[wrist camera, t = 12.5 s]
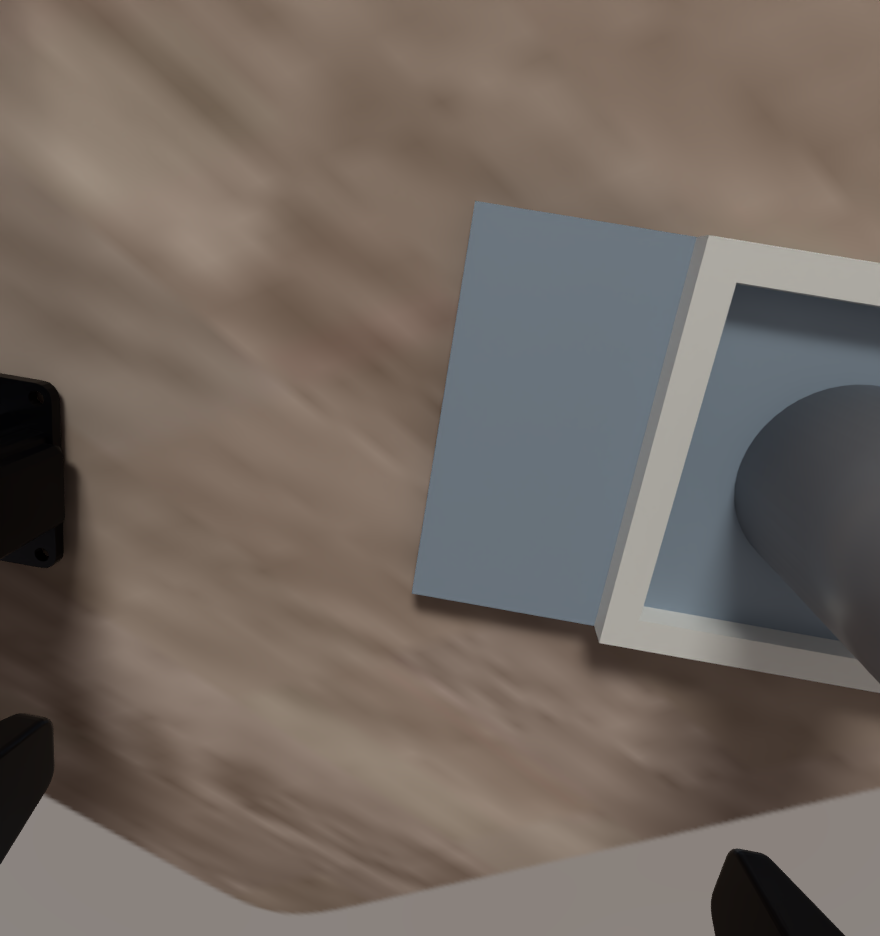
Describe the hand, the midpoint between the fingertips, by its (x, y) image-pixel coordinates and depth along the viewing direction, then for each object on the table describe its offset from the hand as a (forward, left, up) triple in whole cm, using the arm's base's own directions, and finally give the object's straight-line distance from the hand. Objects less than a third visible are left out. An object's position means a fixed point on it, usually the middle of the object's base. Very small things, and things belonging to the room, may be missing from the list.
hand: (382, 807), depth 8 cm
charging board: (+8, +2, -13) cm, 16 cm away
